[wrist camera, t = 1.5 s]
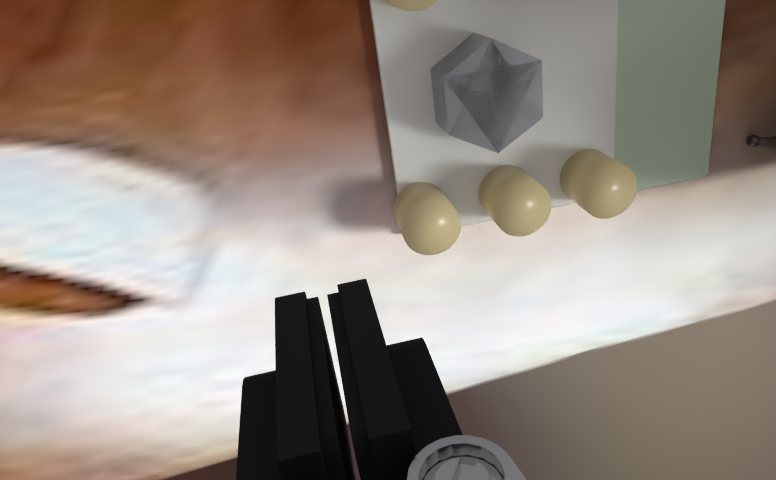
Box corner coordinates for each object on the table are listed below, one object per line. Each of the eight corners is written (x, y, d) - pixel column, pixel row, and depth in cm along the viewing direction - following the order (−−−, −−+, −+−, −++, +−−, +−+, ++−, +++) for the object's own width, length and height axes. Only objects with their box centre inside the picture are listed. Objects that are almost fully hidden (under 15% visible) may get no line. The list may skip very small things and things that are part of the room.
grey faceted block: (519, 24, 27) (541, 29, 25) (524, 131, 30) (544, 144, 28) (427, 40, 27) (440, 47, 25) (438, 147, 29) (451, 162, 27)
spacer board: (729, -119, 27) (782, -128, 24) (701, 172, 33) (741, 192, 30) (350, -60, 25) (360, -62, 22) (395, 235, 31) (407, 262, 29)
